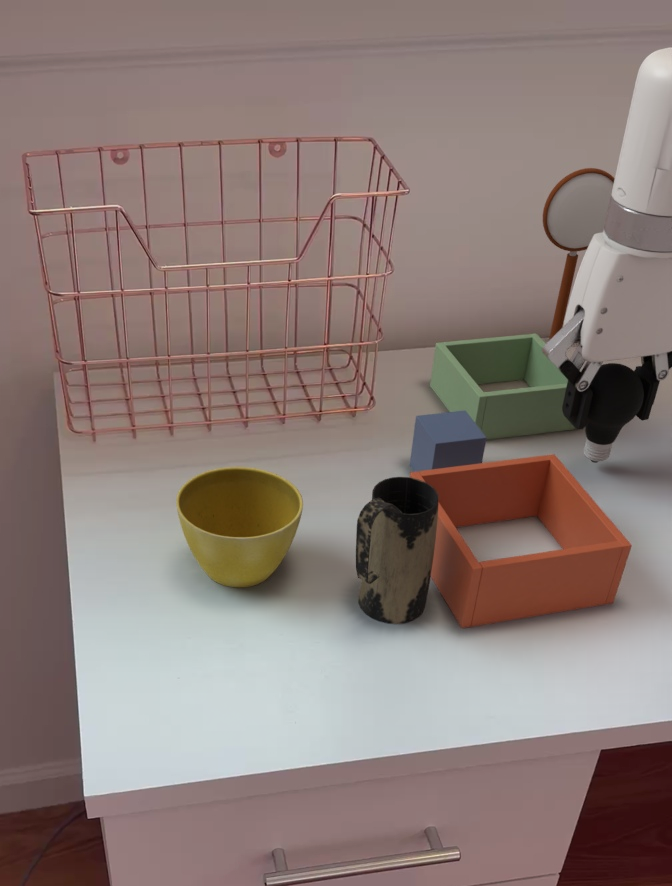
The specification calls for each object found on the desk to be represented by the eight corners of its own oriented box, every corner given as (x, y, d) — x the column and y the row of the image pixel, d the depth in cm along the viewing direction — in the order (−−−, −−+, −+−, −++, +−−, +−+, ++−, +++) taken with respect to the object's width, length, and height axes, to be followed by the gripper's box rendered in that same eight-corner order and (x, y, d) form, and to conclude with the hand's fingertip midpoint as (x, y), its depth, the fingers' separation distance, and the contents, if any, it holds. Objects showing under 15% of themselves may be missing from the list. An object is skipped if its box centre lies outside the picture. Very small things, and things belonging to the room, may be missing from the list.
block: (456, 464, 100) (465, 410, 96) (476, 493, 97) (487, 437, 93) (408, 470, 99) (415, 415, 95) (427, 499, 96) (435, 443, 92)
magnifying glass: (585, 343, 122) (628, 165, 108) (590, 350, 120) (634, 171, 107) (514, 344, 120) (549, 165, 107) (518, 351, 119) (554, 171, 106)
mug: (385, 576, 87) (400, 454, 79) (439, 606, 84) (460, 482, 76) (325, 621, 82) (335, 497, 74) (380, 654, 80) (396, 528, 72)
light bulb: (632, 454, 100) (657, 361, 94) (616, 484, 97) (641, 389, 90) (574, 439, 102) (594, 346, 96) (556, 467, 99) (576, 373, 92)
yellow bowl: (279, 527, 91) (281, 458, 87) (315, 598, 84) (320, 527, 80) (167, 545, 89) (163, 475, 84) (195, 619, 82) (193, 547, 77)
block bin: (539, 515, 95) (554, 453, 90) (611, 608, 85) (632, 545, 81) (401, 535, 91) (409, 471, 87) (460, 634, 82) (473, 569, 77)
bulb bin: (526, 380, 114) (536, 333, 110) (574, 434, 106) (587, 385, 102) (428, 390, 111) (435, 342, 107) (471, 447, 103) (479, 396, 99)
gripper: (719, 198, 88) (665, 386, 101) (536, 215, 85) (503, 409, 97) (771, 231, 83) (707, 426, 95) (579, 251, 79) (538, 451, 92)
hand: (605, 415), depth 96 cm, fingers closed on light bulb, 5 cm apart
